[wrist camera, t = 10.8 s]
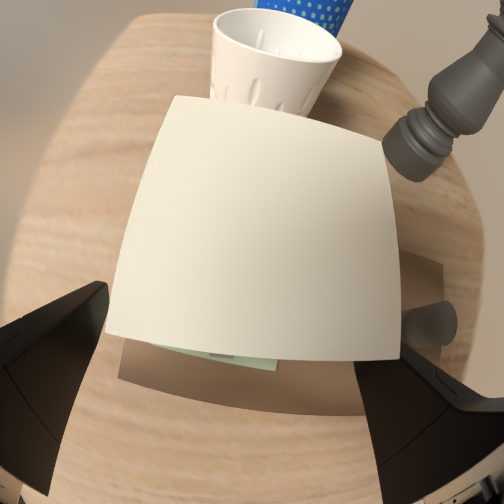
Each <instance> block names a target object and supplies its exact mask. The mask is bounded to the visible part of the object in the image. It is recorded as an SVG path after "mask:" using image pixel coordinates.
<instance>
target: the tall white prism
mask: <svg viewBox="0 0 504 504" xmlns="http://www.w3.org/2000/svg"><path fill="white" fill-rule="evenodd" d="M105 333H108V334H112V335H116V336H121V337H125V338H129V339H134V340H139V341H144V342H149V343H154V344H159V345H165V346H170V347H176V348H182V349H189V350H195V351H202V352H209V356H210V357H218V358H227V359H234V355H235V356H244V357H255V358H268V359H284V360H305V361H371V360H392V359H400V341H401V283H400V264H399V251H398V240H397V231H396V222H395V214H394V207H393V201H392V194H391V188H390V183H389V177H388V172H387V167H386V162H385V158H384V153H383V149H382V144H381V142H380V141H377V140H375V139H372V138H369V137H366V136H364V135H361V134H358V133H355V132H352V131H349V130H346V129H343V128H340V127H337V126H333V125H330V124H327V123H323V122H320V121H316V120H313V119H309V118H305V117H302V116H298V115H294V114H289V113H285V112H281V111H277V110H272V109H267V108H262V107H257V106H252V105H247V104H241V103H235V102H229V101H222V100H215V99H207V98H199V97H189V96H178V95H175V97H174V100H173V102H172V104H171V106H170V108H169V111H168V113H167V115H166V117H165V120H164V122H163V124H162V127H161V129H160V131H159V134H158V136H157V139H156V141H155V144H154V146H153V149H152V152H151V154H150V157H149V159H148V162H147V165H146V168H145V170H144V173H143V176H142V179H141V182H140V185H139V188H138V191H137V194H136V197H135V201H134V204H133V207H132V210H131V214H130V217H129V221H128V224H127V228H126V231H125V235H124V239H123V243H122V247H121V251H120V255H119V259H118V264H117V268H116V273H115V277H114V282H113V287H112V292H111V298H110V303H109V309H108V315H107V322H106V329H105Z"/></svg>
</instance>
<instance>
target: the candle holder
mask: <svg viewBox="0 0 504 504" xmlns="http://www.w3.org/2000/svg"><path fill="white" fill-rule="evenodd" d="M500 5H501V7H500V15H499V16H496V15H492V14H488V16H487V18H486V19H487V21H488V23H489V25H488V28H489V29H488V31H487V32H486V33H485V35H484V36H483V37H482V39H481V40H480V41H479V42H478V44H477V45H476V46H475V48H474V49H473V50H472V51H471V52H469V53H467V54H466V55H464V56H463V57H461V58H460V59H458V60H457V61H456V62H454V63H453V64H451V65H450V66H448V67H447V68H445V69H444V70H442V71H441V72H440V73H438V74H437V75H435V76H434V77H433V78H432V80H431V81H430V83H429V86H428V101H426V102H425V107H420V108H418V109H417V108H414V109H412V110H410V111H409V112H408V113H407V116H403V117H402V118H400V119H399V120H398V121H397V122H396V123H395V125H394V126H393V127H392V128H391V129H390V131H389V132H388V133H387V134H386V136H385V137H384V138H383V142H382V146H383V150H384V154H385V155H386V157H387V159H388V161H389V162H390V164H391V165H392V166H393V167H394V168H395V169H396V170H397V172H399V173H400V174H401V175H403V176H404V177H405V178H407V179H409V180H411V181H414V182H421V181H423V180H424V179H426V178H427V177H428V176H429V175H430V174H431V173H433V172H434V171H435V170H436V169H437V168H439V167H440V166H441V165H442V163H443V162H444V157H447V156H448V155H449V154H450V153H451V151H452V145H453V138H458V137H459V136H460V134H462V135H471V134H475V133H477V132H478V131H480V130H481V129H482V127H483V126H484V124H485V122H486V121H487V119H488V117H489V115H490V113H491V112H492V110H493V108H494V106H495V104H496V102H497V101H498V99H499V97H500V95H501V93H502V91H503V89H504V0H500Z"/></svg>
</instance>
